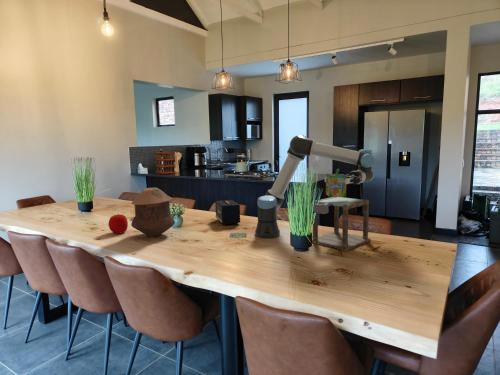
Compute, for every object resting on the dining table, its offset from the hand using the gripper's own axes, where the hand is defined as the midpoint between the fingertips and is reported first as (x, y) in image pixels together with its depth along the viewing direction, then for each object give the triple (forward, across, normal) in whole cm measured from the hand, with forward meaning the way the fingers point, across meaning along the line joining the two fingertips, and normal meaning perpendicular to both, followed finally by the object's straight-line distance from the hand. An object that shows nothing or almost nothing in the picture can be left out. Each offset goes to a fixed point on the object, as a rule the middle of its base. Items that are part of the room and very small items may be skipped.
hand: (335, 180), depth 183 cm
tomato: (+74, +114, -35) cm, 140 cm away
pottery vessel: (+62, +91, -35) cm, 115 cm away
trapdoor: (+2, 0, -14) cm, 14 cm away
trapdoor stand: (-6, 0, -35) cm, 36 cm away
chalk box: (-1, 0, -9) cm, 9 cm away
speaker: (+8, +84, -35) cm, 92 cm away
